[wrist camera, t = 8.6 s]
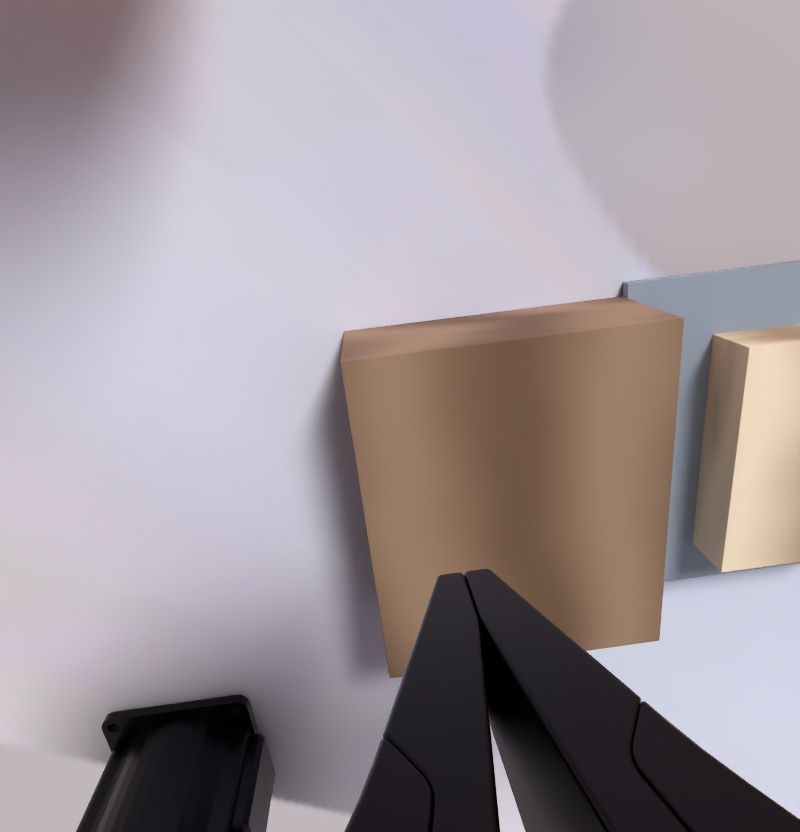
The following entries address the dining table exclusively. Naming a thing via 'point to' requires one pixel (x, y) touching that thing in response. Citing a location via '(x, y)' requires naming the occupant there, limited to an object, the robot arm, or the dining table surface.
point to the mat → (704, 316)
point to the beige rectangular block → (751, 451)
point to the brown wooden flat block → (520, 462)
